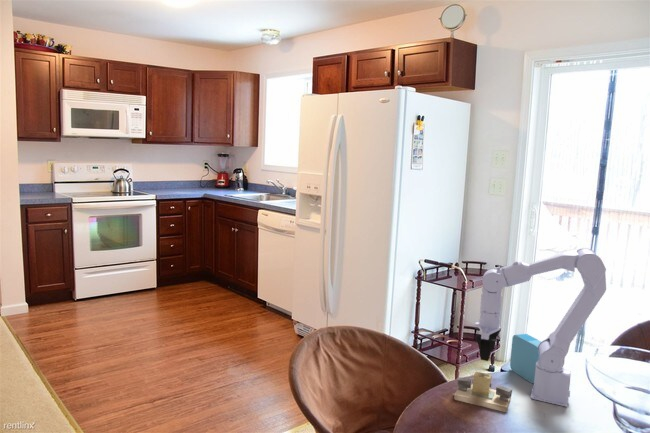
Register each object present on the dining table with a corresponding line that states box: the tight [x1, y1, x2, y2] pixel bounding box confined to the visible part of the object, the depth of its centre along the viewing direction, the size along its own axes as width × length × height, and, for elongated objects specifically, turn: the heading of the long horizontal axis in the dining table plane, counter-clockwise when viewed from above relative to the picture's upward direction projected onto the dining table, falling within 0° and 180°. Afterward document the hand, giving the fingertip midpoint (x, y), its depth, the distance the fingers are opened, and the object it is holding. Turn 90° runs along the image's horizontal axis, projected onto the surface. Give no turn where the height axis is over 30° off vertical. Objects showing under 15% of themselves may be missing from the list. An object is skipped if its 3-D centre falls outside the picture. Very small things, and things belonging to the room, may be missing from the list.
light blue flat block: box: [509, 333, 542, 385], centre depth 158 cm, size 12×4×12 cm, turn 18°
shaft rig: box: [453, 376, 513, 413], centre depth 143 cm, size 15×9×4 cm, turn 64°
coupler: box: [472, 371, 492, 396], centre depth 143 cm, size 5×3×5 cm, turn 64°
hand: (486, 355), depth 150 cm, fingers open, 7 cm apart
